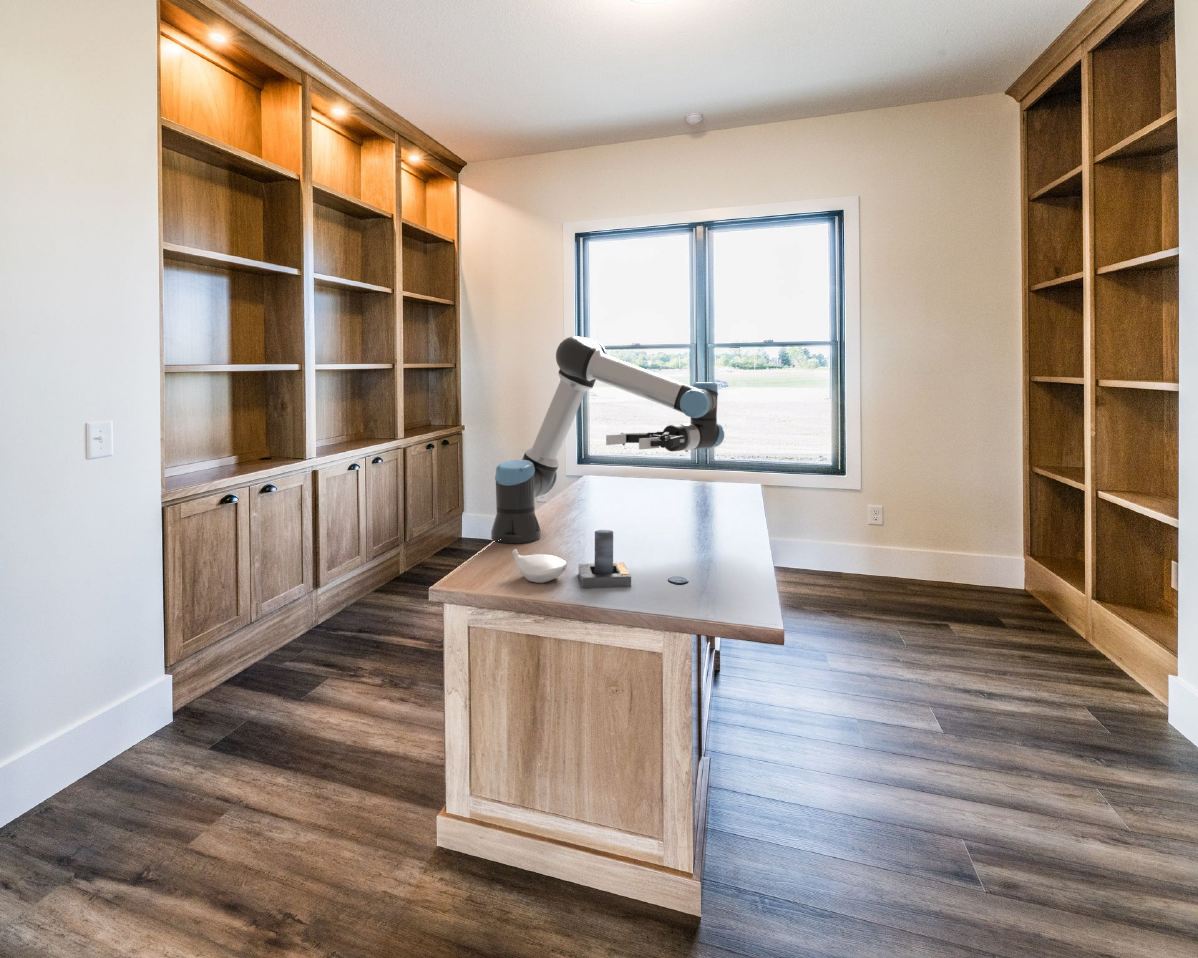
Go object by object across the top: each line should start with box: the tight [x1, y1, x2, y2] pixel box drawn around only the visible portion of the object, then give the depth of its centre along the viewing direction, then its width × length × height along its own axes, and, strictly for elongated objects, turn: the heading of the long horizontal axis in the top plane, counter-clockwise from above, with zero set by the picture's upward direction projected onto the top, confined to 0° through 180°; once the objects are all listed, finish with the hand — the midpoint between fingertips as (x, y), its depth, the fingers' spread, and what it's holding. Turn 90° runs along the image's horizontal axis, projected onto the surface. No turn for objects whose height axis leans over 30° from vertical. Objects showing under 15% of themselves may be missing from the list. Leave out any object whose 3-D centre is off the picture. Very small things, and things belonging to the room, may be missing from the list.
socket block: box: [578, 562, 632, 589], centre depth 158 cm, size 12×12×3 cm
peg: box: [594, 529, 614, 574], centre depth 157 cm, size 4×4×12 cm
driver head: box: [511, 549, 568, 584], centre depth 157 cm, size 10×11×12 cm
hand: (622, 442), depth 171 cm, fingers open, 13 cm apart
